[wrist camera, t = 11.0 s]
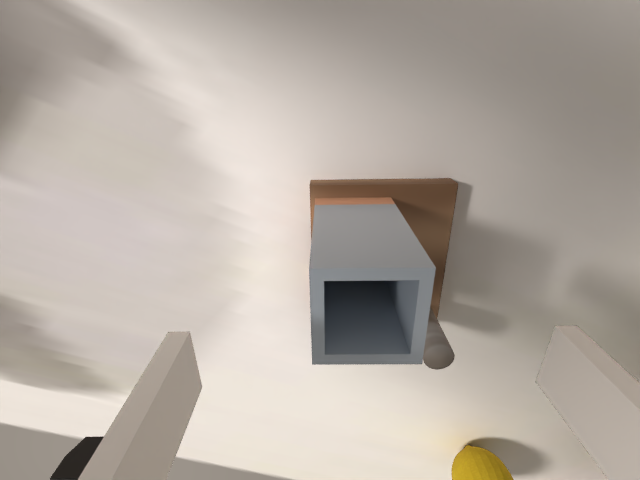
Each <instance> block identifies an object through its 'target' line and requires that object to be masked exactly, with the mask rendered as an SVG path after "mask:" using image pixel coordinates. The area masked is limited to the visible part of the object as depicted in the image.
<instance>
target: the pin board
mask: <svg viewBox="0 0 640 480" xmlns="http://www.w3.org/2000/svg"><path fill="white" fill-rule="evenodd" d="M457 189H458V183H457V182H455V181H454V180H452V179H451V178H439V179H359V180H311V181H310V207H311V242H312V230H313V219H314V207H315V198H380V197H391V198H392V200H393V201H394V203H395V204H396V206H397V208H398V209H399V211H400V212H401V214H402V215H403V217H404V219H405V220H406V222H407V223H408V225H409V226H410V228H411V229H412V231H413V233H414V234H415V236H416V237H417V239H418V240H419V242H420V244H421V245H422V247H423V248H424V250H425V251H426V253H427V255H428V256H429V258H430V259H431V261H432V262H433V264H434V265H435V267H436V270H435V277H434V284H433V291H432V298H431V305H430V312H429V319H428V326H427V333H426V340H425V347H424V353H423V360H424V363H425V364H426V365H427V366H428V367H429V368H432V369H443V368H445V367H447V366H449V365H450V364H451V363H452V362H453V360H454V353H453V350H452V348H451V346H450V344H449V342H448V340H447V338H446V336H445V334H444V332H443V330H442V328H441V326H440V324H439V322H438V320H437V316H438V310H439V303H440V297H441V291H442V284H443V278H444V271H445V265H446V259H447V252H448V246H449V240H450V233H451V227H452V220H453V214H454V208H455V201H456V195H457Z"/></svg>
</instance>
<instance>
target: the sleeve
mask: <svg viewBox="0 0 640 480" xmlns="http://www.w3.org/2000/svg"><path fill="white" fill-rule="evenodd" d="M435 270H436V267H435V265H434V264H433V262H432V261H431V259H430V258H429V256H428V255H427V253H426V251H425V250H424V248H423V247H422V245H421V244H420V242H419V240H418V239H417V237H416V236H415V234H414V233H413V231H412V229H411V228H410V226H409V225H408V223H407V222H406V220H405V219H404V217H403V215H402V214H401V212H400V211H399V209H398V208H397V206H396V204H395V203H394V201H393V200H392V198H391V197H380V198H315V207H314V219H313V230H312V242H311V253H310V265H309V279H310V309H311V339H312V364H422V360H423V353H424V347H425V340H426V333H427V326H428V319H429V312H430V305H431V298H432V291H433V284H434V277H435Z"/></svg>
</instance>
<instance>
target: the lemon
mask: <svg viewBox="0 0 640 480" xmlns="http://www.w3.org/2000/svg"><path fill="white" fill-rule="evenodd" d="M452 480H513V478H512V476H511V474H510V472H509V471H508V469H507V468H506V466H505V465H504V464H503V462H502V461H501V460H500V459H499V458H498V457H497V456H496V455H494V454H493V453H492V452H490V451H488V450H486V449H484V448H480V447H472V446H470V445H467V446H465V448H464V449H463V450H462V451H460V452H459V453H458V454H457V456H456V457H455V459H454V462H453V465H452Z"/></svg>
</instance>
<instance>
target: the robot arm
mask: <svg viewBox="0 0 640 480" xmlns="http://www.w3.org/2000/svg"><path fill="white" fill-rule="evenodd" d="M536 383H537V384H538V386H539V387H540V389H541V390H542V391H543V393H544V394H545V395H546V397H547V398H548V399H549V401H550V402H551V403H552V405H553V406H554V407H555V409H556V410H557V411H558V413H559V414H560V416H561V417H562V418H563V420H564V421H565V422H566V424H567V425H568V426H569V428H570V429H571V430H572V432H573V433H574V434H575V436H576V437H577V438H578V440H579V441H580V442H581V444H582V445H583V447H584V448H585V449H586V451H587V452H588V453H589V455H590V456H591V457H592V459H593V460H594V461H595V463H596V464H597V465H598V467H599V468H600V469H601V471H602V472H603V474H604V475H605V476H606V478H607V479H608V480H640V383H639V382H638V381H637V380H636V379H635V378H633V377H632V376H631V375H630V374H629V373H628V372H627V371H626V370H625V369H624V368H623V367H621V366H620V365H619V364H618V363H617V362H616V361H615V360H614V359H613V358H612V357H611V356H609V355H608V354H607V353H606V352H605V351H604V350H603V349H602V348H601V347H600V346H599V345H597V344H596V343H595V342H594V341H593V340H592V339H591V338H590V337H589V336H588V335H587V334H585V333H584V332H583V331H582V330H581V329H580V328H579V327H578V326H577V325H566V326H555V328H554V330H553V333H552V336H551V339H550V342H549V345H548V347H547V350H546V353H545V356H544V359H543V362H542V365H541V367H540V370H539V373H538V376H537V379H536ZM201 389H202V384H201V379H200V375H199V370H198V366H197V362H196V357H195V353H194V349H193V344H192V340H191V335H190V332H168V333H167V335H166V337H165V338H164V340H163V342H162V343H161V345H160V346H159V348H158V350H157V351H156V353H155V355H154V356H153V358H152V359H151V361H150V363H149V364H148V366H147V368H146V369H145V371H144V372H143V374H142V376H141V377H140V379H139V381H138V382H137V384H136V385H135V387H134V389H133V390H132V392H131V394H130V395H129V397H128V399H127V400H126V402H125V403H124V405H123V407H122V408H121V410H120V412H119V413H118V415H117V416H116V418H115V420H114V421H113V423H112V425H111V426H110V428H109V429H108V431H107V433H106V434H105V436H104V437H85V438H84V439H83V440H82V441H81V442H80V443H79V444H78V445H77V446H76V447H75V448H74V449H72V450H71V451H70V452H69V453H68V454H67V455H66V456H65V457H64V459H63V460H62V462H61V463H60V465H59V466H58V468H57V469H56V471H55V472H54V473H53V475H52V476H51V478H50V480H166V479H167V477H168V474H169V472H170V469H171V467H172V464H173V461H174V459H175V456H176V454H177V451H178V448H179V446H180V443H181V441H182V438H183V436H184V433H185V430H186V428H187V425H188V423H189V420H190V417H191V415H192V412H193V410H194V407H195V405H196V402H197V399H198V397H199V394H200V392H201Z"/></svg>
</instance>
